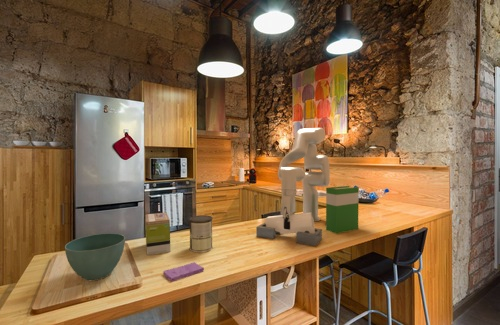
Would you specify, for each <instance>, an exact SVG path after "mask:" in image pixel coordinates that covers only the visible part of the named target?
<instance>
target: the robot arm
mask: <svg viewBox="0 0 500 325" xmlns="http://www.w3.org/2000/svg"><path fill="white" fill-rule="evenodd" d="M325 139H326V131H325V129H324V128H323V127H307V128H300V129H298V130H297V132H295V134H294V139H293V142H292V143H293V144H292V147H291V150H290V151H289V152H287V153H286V154H285V156H283V157H282V159H281V161H280V162H279V165H278V166H279V167H278V171H277V177H278V179H279V180H281V181H280V182H281V192H280V193H281V202H280V215H283V219H284V220H283V221H284V229H288V230H290V221H289V220H290V215H292V214H296V196H297V182H302V200H303V201H302V203H303V204H302V213H312V217H313V220H314V223H315V222H319V221H321V217H320V216H319V192H318V190H317V188H316V187H320V188H321V187H324V188H325V187H326V188H327V187H328V186H329V185H330V178H331V177H330V176H331V175H330V172H331V171H330V159H329V156H328V155H325V154H318V147H317V145H318V144H321V143H322V142H324V140H325ZM301 159H303V166H304V168H305V169H307V170H313V171H305V170H304V169H303V168H302V167H298V166H297V167H296V166H289V165H290V164H292V163H294V162H296V161H298V160H301ZM314 170H316V171H314ZM317 170H318V171H317ZM286 216H287V217H288V218H287V217H286Z"/></svg>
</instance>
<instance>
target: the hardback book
mask: <svg viewBox="0 0 500 325" xmlns="http://www.w3.org/2000/svg"><path fill="white" fill-rule="evenodd" d="M359 189H360V188H359V186H355V187H353V186H352V187H350V185H343V186H332V187H326V189H325V194H326V195H325V197H326V198H325V199H326V200H325V202H326V203H325V214H326V215H325V231H328V232H331V233H333V234H337V235H338V234H340V233H341V234H342V233H345V232H349V231H350V232H351V231H354V230H359V200H360V198H359V195H360V194H359V191H360V190H359Z"/></svg>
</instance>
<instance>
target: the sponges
mask: <svg viewBox="0 0 500 325" xmlns="http://www.w3.org/2000/svg"><path fill="white" fill-rule="evenodd" d="M204 269H205V268H204V267H203V266H202V265H200V264H198V263H197V262H194V261H193V262H190V263H187V264H183V265H180V266H177V267H173V268H170V269H169V268H168V269H165V270H163V271H162V272H163V276H164V277H166V278H167V279H168V280H169V281H170V282H175V281H177V280H180V279H183V278H186V277H189V276H194V275H195V274H199V273H202V272H204Z"/></svg>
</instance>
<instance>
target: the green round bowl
mask: <svg viewBox="0 0 500 325" xmlns="http://www.w3.org/2000/svg"><path fill="white" fill-rule="evenodd" d="M125 243H126V236H125V235H123V234H121V233H115V232H113V233H112V232H110V233H105V232H104V233H96V234H91V235H86V236H82V237H79V238H76V239H72V240H71V241H69V242H67V243H66V244H65V245H64V251H65V256H66V257H65V258H66V259H67V262H68V264H69V265H70V267H71V269H72V271H74V272H75V273H76V275H77V276H79V277H80V278H81V279H83V280H84V281H89V280H91V281H98V280H101V278H102V279H104V278H106V277H108V276H109V275H111V273H112V272H113V271H114V269H115V268H116V266H117V265H118V264H119V262H120V260H121V257H122V255H123V252H124V248H125V245H126V244H125ZM97 279H98V280H97Z"/></svg>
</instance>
